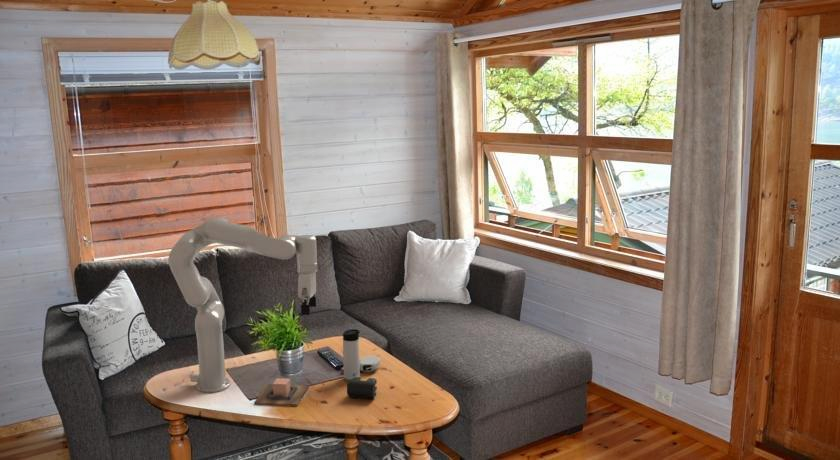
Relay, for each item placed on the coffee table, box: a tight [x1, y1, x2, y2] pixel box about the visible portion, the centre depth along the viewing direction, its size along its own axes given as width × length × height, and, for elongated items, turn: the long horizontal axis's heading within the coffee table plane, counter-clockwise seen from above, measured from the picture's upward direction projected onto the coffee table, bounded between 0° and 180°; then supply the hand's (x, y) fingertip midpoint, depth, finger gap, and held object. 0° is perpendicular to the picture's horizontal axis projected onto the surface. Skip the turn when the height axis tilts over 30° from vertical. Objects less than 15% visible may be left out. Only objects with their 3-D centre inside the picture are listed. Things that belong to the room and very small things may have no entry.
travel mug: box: [342, 329, 361, 382], centre depth 270 cm, size 6×7×20 cm
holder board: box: [253, 383, 310, 407], centre depth 256 cm, size 16×16×2 cm
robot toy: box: [340, 354, 381, 373], centre depth 281 cm, size 12×4×15 cm
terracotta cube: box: [272, 377, 291, 395], centre depth 256 cm, size 5×5×5 cm
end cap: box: [346, 376, 378, 400], centre depth 255 cm, size 10×7×7 cm
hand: (308, 310), depth 266 cm, fingers open, 9 cm apart
